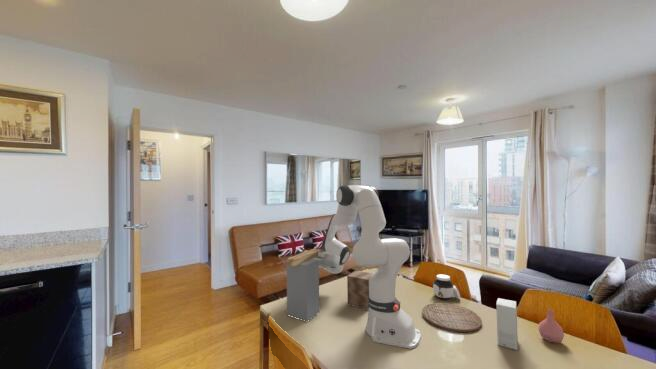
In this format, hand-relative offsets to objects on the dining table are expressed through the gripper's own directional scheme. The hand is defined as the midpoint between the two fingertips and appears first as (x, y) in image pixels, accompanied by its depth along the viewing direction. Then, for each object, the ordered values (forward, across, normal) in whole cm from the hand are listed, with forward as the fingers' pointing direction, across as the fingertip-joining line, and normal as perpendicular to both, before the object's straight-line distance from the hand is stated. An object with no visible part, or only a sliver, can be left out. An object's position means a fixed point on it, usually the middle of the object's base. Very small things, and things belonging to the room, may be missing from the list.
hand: (313, 252), depth 134 cm
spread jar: (-54, +58, +2) cm, 79 cm away
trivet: (-33, +62, +14) cm, 72 cm away
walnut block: (-28, +20, +16) cm, 38 cm away
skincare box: (-24, +83, +18) cm, 88 cm away
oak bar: (+5, 0, +5) cm, 7 cm away
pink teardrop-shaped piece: (-33, +98, +13) cm, 104 cm away
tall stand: (-6, 0, +29) cm, 29 cm away
